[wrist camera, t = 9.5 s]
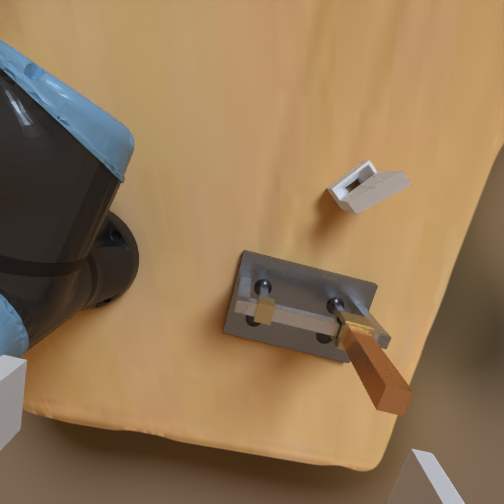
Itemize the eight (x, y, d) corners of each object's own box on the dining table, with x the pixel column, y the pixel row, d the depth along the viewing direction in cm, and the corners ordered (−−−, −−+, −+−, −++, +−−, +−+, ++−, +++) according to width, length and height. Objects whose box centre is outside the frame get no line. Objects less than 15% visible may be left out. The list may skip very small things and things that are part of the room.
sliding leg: (320, 315, 45) (367, 413, 26) (327, 292, 44) (382, 377, 25) (343, 320, 45) (407, 423, 26) (351, 298, 44) (423, 387, 25)
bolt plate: (223, 329, 47) (222, 333, 46) (244, 249, 44) (243, 252, 43) (346, 358, 48) (349, 363, 47) (374, 283, 45) (378, 286, 44)
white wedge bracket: (412, 161, 39) (411, 184, 32) (344, 201, 45) (332, 227, 38) (396, 138, 38) (393, 156, 32) (330, 181, 45) (315, 204, 38)
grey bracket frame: (237, 289, 45) (233, 316, 36) (241, 274, 44) (238, 297, 35) (361, 320, 45) (386, 353, 37) (366, 305, 45) (393, 336, 36)
